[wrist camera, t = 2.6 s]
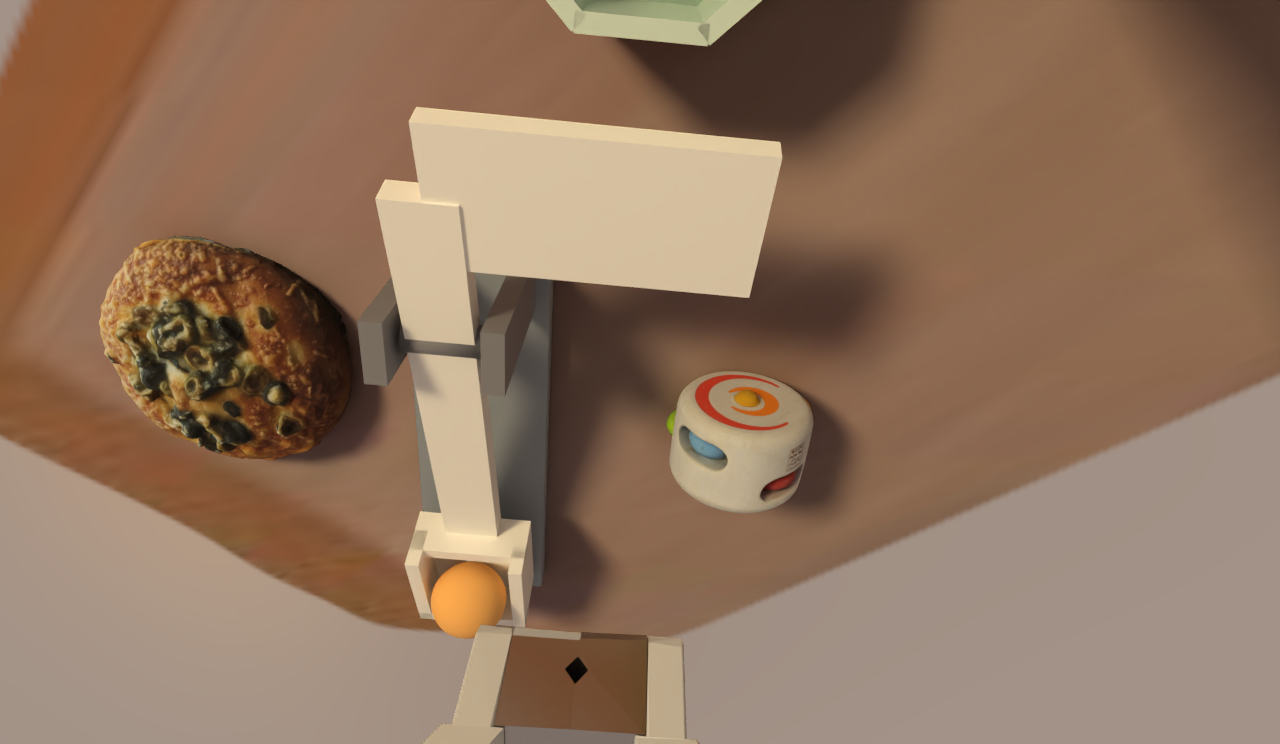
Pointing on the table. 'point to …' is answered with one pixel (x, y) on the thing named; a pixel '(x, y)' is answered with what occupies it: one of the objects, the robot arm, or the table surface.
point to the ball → (468, 599)
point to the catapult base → (490, 389)
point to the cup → (653, 18)
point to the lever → (543, 276)
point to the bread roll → (226, 348)
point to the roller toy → (739, 441)
